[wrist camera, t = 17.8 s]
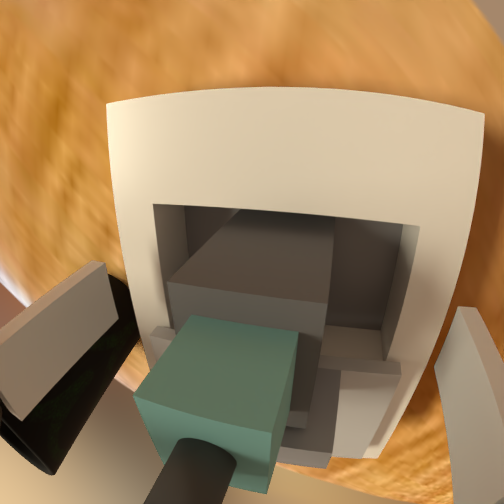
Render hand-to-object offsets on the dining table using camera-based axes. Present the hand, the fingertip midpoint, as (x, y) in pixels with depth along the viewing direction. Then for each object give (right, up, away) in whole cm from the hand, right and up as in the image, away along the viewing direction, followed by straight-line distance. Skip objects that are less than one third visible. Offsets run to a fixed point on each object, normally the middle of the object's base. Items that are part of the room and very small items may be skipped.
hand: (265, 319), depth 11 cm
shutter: (0, -5, +4) cm, 6 cm away
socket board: (+1, 0, +6) cm, 6 cm away
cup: (-10, -2, +10) cm, 14 cm away
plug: (+1, +2, +4) cm, 5 cm away
